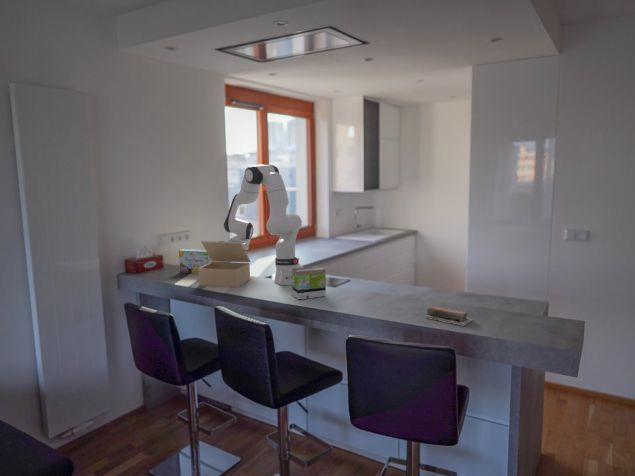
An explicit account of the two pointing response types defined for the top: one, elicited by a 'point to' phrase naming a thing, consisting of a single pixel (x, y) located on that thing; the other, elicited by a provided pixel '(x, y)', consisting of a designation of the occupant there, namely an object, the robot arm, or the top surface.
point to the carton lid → (226, 251)
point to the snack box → (193, 260)
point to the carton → (224, 274)
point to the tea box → (308, 282)
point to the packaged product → (448, 315)
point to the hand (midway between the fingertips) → (225, 248)
